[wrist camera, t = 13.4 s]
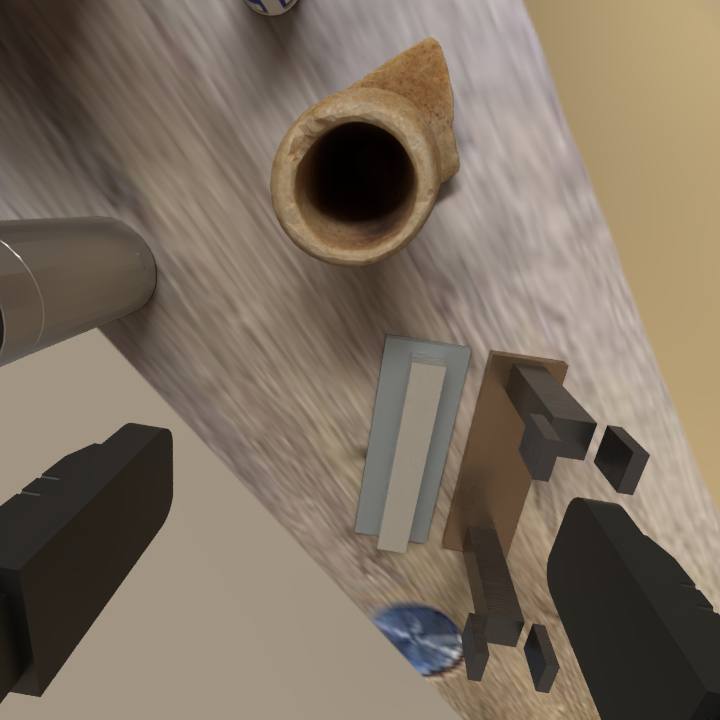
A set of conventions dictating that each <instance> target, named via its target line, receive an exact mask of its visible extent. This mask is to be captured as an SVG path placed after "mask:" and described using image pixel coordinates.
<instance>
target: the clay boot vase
mask: <svg viewBox="0 0 720 720" xmlns="http://www.w3.org/2000/svg"><path fill="white" fill-rule="evenodd" d="M453 103H454V96H453V92H452V87H451V83H450V78H449V72H448V68H447V64H446V61H445V58H444V55H443V52H442V49H441V46H440V44H439V42H438V41H436V40H435V39H434V38H431V37H430V38H427V39H425V40H423V41H421V42H419V43H418V44H416V45H414V46H413V47H411V48H409V49H408V50H406V51H404V52H402V53H400V54H399V55H397V56H395V57H394V58H392V59H390V60H388V61H387V62H386V63H384V64H383V65H381V66H380V67H378V68H377V69H375V70H374V71H372V72H370V73H369V74H367V75H366V76H365V77H364V78H363V79H361V80H359V81H357V82H356V83H354V84H352V85H351V86H349V87H348V88H346V89H344V90H343V91H341V92H339V93H336V94H334V95H331V96H329V97H326V98H325V99H323V100H322V101H320V102H318V103H317V104H315V105H314V106H312V107H310V108H309V109H308V110H307V111H305V112H304V113H303V114H302V115H301V116H300V117H299V118H298V120H297V121H296V122H295V123H294V124H293V125H292V127H291V128H290V129H289V130H288V132H287V133H286V135H285V136H284V138H283V140H282V142H281V143H280V146H279V148H278V151H277V153H276V156H275V158H274V162H273V166H272V171H271V182H270V189H271V196H272V204H273V208H274V211H275V213H276V216H277V218H278V221H279V223H280V225H281V226H282V228H283V230H284V232H285V233H286V234H287V235H288V237H289V238H290V239H291V240H292V242H293V243H294V244H295V245H296V246H298V247H299V248H300V249H301V250H302V251H304V252H305V253H307V254H308V255H310V256H312V257H314V258H316V259H318V260H320V261H323V262H325V263H328V264H332V265H337V266H345V267H358V266H366V265H370V264H374V263H377V262H379V261H381V260H383V259H385V258H387V257H390V256H392V255H394V254H395V253H397V252H399V251H400V250H402V249H403V248H404V247H405V246H406V245H407V244H408V243H409V242H410V241H411V240H413V239H414V238H415V237H416V235H417V234H418V233H419V232H420V230H421V229H422V227H423V226H424V224H425V222H426V221H427V219H428V218H429V216H430V214H431V212H432V209H433V207H434V204H435V202H436V199H437V196H438V192H439V188H440V184H441V183H443V182H445V181H447V180H448V179H450V178H452V177H453V176H454V175H455V174H456V173H457V172H459V167H460V163H459V156H458V152H457V148H456V141H455V137H454V134H453V129H452V122H453V116H454V111H453Z"/></svg>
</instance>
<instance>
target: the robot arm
mask: <svg viewBox="0 0 720 720" xmlns="http://www.w3.org/2000/svg"><path fill="white" fill-rule="evenodd" d="M155 284H156V269H155V263H154V260H153V257H152V254H151V252H150V250H149V248H148V247H147V245H146V243H145V242H144V241H143V239H142V238H141V237H140V236H139V235H138V234H137V233H136V232H135V231H134V230H133V229H132V228H130V227H129V226H127V225H126V224H124V223H122V222H121V221H118V220H115V219H112V218H108V217H101V216H97V217H73V218H71V217H70V218H44V219H21V220H0V367H2V366H4V365H6V364H9V363H11V362H13V361H16V360H18V359H20V358H23V357H25V356H28V355H30V354H32V353H35V352H37V351H40V350H42V349H44V348H47V347H50V346H52V345H54V344H57V343H59V342H62V341H64V340H66V339H69V338H71V337H74V336H76V335H79V334H81V333H83V332H86V331H88V330H90V329H93V328H96V327H98V326H101V325H103V324H105V323H108V322H111V321H113V320H115V319H118V318H120V317H123V316H125V315H127V314H130V313H132V312H135V311H136V310H138V309H140V308H141V307H143V306H144V305H145V304H146V303H147V302H148V300H149V299H150V297H151V295H152V294H153V291H154V287H155ZM172 498H173V440H172V434H171V432H170V430H169V429H165V428H159V427H153V426H147V425H140V424H135V423H128V424H126V425H124V426H123V427H122V428H120V429H119V430H118V431H117V432H116V433H114V434H113V435H112V436H111V437H110V438H108V439H107V440H106V441H105V442H103V443H102V444H96V443H95V444H92V445H90V446H87V447H85V448H83V449H81V450H78V451H76V452H74V453H72V454H69V455H67V456H65V457H64V458H62V459H61V460H60V461H58V462H57V463H56V464H54V465H53V466H52V467H51V468H49V469H48V470H47V471H45V472H44V473H43V474H42V476H41V478H36V479H35V480H34V481H33V482H31V483H30V484H29V485H27V486H26V487H25V488H23V489H22V492H21V494H16V495H14V496H13V497H12V498H11V499H9V500H8V501H7V502H5V503H4V504H3V505H1V506H0V703H1V702H2V701H3V699H4V698H5V697H6V696H7V694H8V693H9V692H14V693H20V694H25V695H31V696H37V697H41V696H42V694H43V693H44V691H45V690H46V688H47V687H48V686H49V684H50V683H51V681H52V680H53V679H54V677H55V676H56V674H57V673H58V672H59V670H60V669H61V667H62V666H63V665H64V663H65V662H66V660H67V659H68V658H69V656H70V655H71V653H72V652H73V651H74V649H75V648H76V646H77V645H78V644H79V642H80V641H81V639H82V638H83V637H84V635H85V634H86V632H87V631H88V630H89V628H90V627H91V625H92V624H93V622H94V621H95V620H96V618H97V617H98V616H99V614H100V613H101V611H102V610H103V609H104V607H105V606H106V604H107V603H108V602H109V600H110V599H111V597H112V596H113V595H114V593H115V592H116V590H117V589H118V587H119V586H120V585H121V583H122V582H123V580H124V579H125V578H126V576H127V575H128V573H129V572H130V571H131V569H132V568H133V566H134V565H135V564H136V562H137V561H138V559H139V558H140V556H141V555H142V554H143V552H144V551H145V550H146V548H147V547H148V545H149V544H150V543H151V541H152V540H153V538H154V537H155V536H156V534H157V533H158V531H159V530H160V529H161V527H162V526H163V524H164V522H165V520H166V518H167V516H168V513H169V511H170V507H171V504H172ZM547 582H548V587H549V591H550V594H551V596H552V599H553V601H554V604H555V606H556V609H557V611H558V614H559V616H560V619H561V621H562V624H563V626H564V629H565V631H566V634H567V636H568V639H569V641H570V644H571V646H572V648H573V651H574V653H575V656H576V658H577V661H578V663H579V666H580V668H581V671H582V673H583V676H584V678H585V681H586V683H587V686H588V688H589V691H590V693H591V696H592V698H593V701H594V703H595V705H596V708H597V710H598V713H599V715H600V718H601V720H720V615H719V614H718V613H714V611H713V606H712V605H711V604H710V602H709V601H708V600H707V599H706V597H705V596H704V595H703V594H702V592H701V591H700V590H696V588H695V583H694V582H693V581H692V580H691V578H690V577H689V576H688V575H687V573H686V572H685V571H684V570H683V568H682V567H681V566H680V565H679V563H678V562H677V561H676V559H675V558H673V557H672V556H671V555H670V554H669V553H667V552H666V551H665V550H664V549H662V548H661V547H660V546H659V545H658V544H656V543H655V542H654V541H653V540H652V539H650V538H649V537H648V536H646V535H643V534H642V532H641V531H640V530H639V528H638V527H637V526H636V524H635V523H634V522H633V520H632V519H631V518H630V516H629V515H628V514H627V512H626V511H625V510H624V509H623V507H622V506H620V505H619V504H616V503H610V502H604V501H598V500H592V499H586V498H579V497H577V498H574V499H573V500H572V501H571V502H570V504H569V505H568V508H567V510H566V513H565V516H564V518H563V521H562V523H561V526H560V529H559V531H558V534H557V537H556V539H555V542H554V545H553V547H552V550H551V552H550V555H549V558H548V563H547Z"/></svg>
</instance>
